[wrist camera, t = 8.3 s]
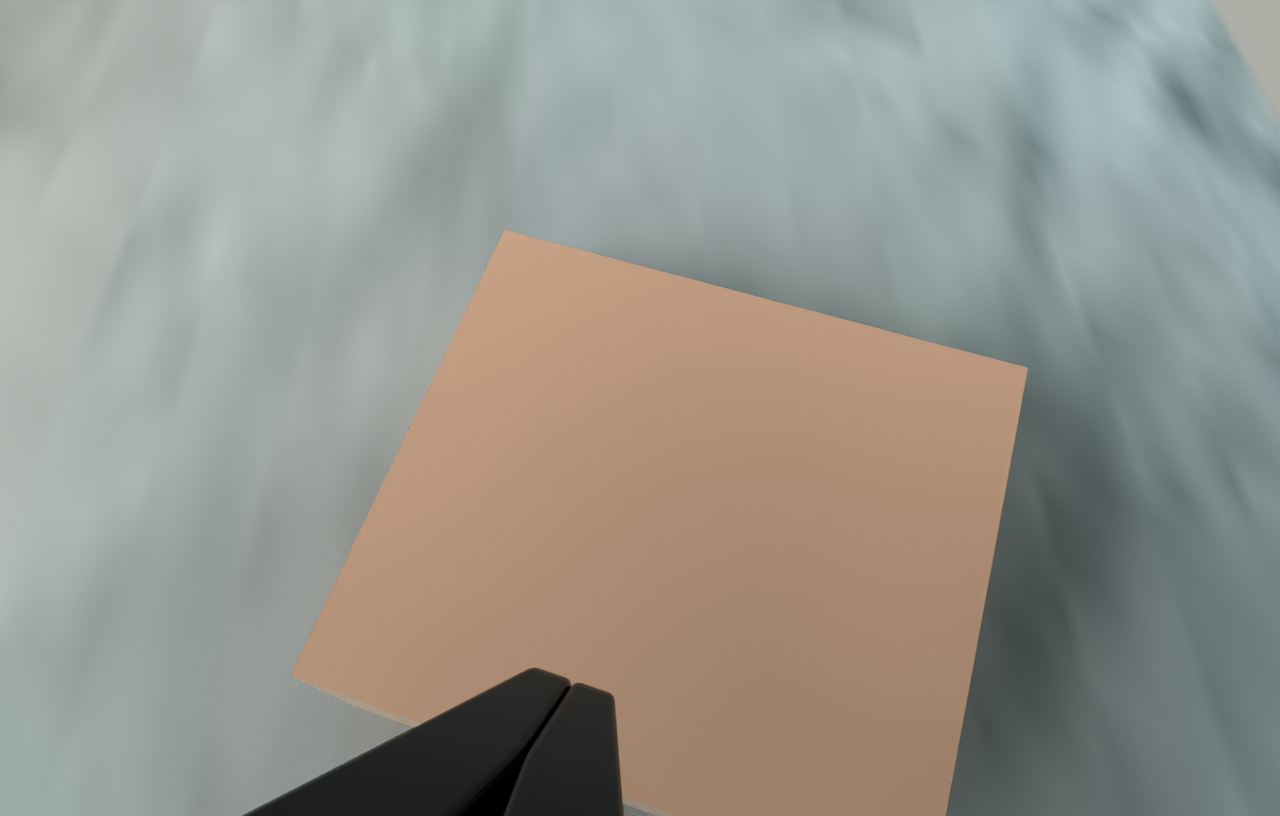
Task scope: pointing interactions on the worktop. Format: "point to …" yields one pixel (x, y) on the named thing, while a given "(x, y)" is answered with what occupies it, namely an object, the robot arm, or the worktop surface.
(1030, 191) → the worktop surface
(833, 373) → the tile
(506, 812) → the robot arm
